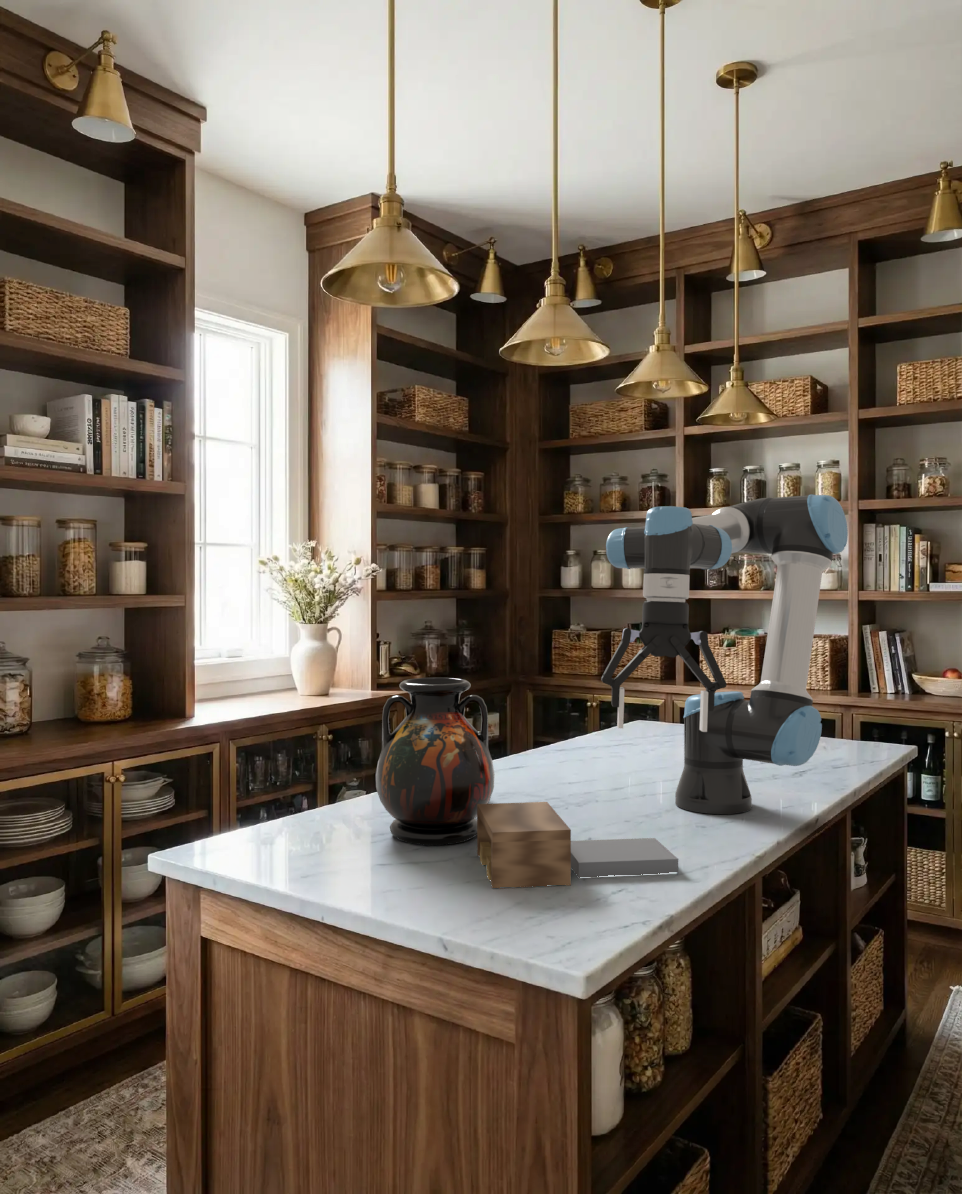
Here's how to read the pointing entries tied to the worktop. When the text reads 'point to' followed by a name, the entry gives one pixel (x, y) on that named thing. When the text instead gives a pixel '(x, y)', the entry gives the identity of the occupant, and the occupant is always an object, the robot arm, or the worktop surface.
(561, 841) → the walnut shelf
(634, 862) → the slate board
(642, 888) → the worktop surface
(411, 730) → the amphora vase
